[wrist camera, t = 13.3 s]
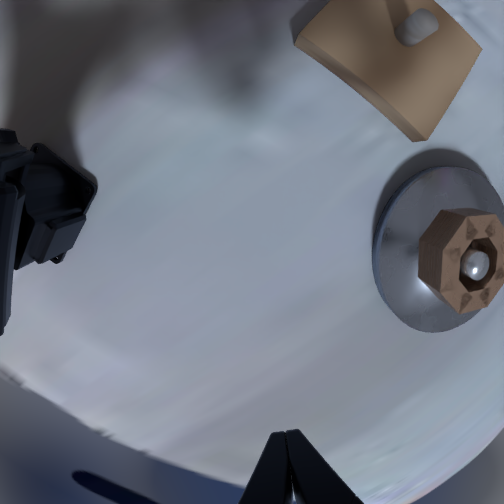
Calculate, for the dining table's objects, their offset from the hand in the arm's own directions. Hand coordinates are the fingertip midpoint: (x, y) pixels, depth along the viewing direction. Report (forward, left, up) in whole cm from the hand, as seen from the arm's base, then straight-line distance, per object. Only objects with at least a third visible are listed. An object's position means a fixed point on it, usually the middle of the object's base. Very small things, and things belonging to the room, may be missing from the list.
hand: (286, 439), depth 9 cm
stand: (-3, +19, -13) cm, 23 cm away
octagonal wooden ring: (+9, +10, -12) cm, 18 cm away
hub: (+9, +10, -13) cm, 19 cm away
